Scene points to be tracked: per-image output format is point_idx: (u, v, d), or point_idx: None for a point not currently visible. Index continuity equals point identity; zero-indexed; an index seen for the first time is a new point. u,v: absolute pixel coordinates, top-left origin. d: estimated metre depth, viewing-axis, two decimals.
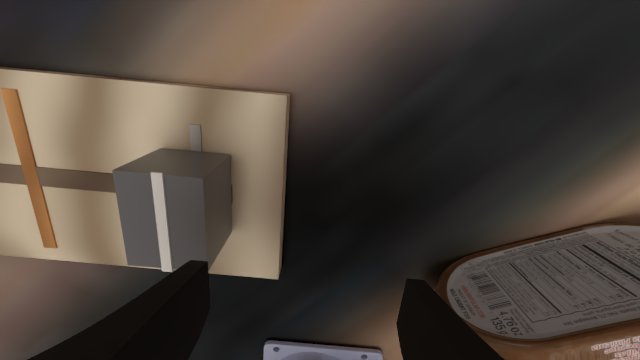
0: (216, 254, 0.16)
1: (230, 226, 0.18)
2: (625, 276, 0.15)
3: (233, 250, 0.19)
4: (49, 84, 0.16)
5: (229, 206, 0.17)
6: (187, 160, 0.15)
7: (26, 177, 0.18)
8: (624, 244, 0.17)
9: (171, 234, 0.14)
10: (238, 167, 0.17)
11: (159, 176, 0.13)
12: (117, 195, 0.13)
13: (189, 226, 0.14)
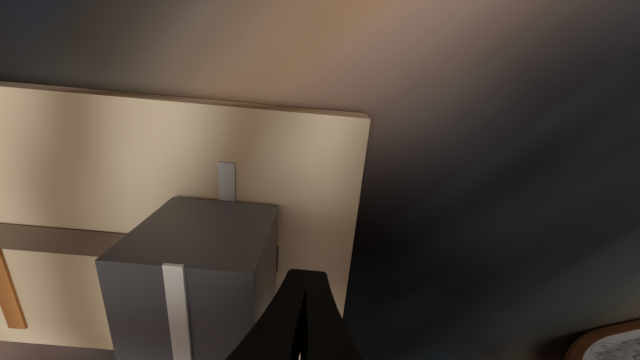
0: None
1: None
2: None
3: None
4: (3, 103, 0.10)
5: (274, 280, 0.12)
6: (217, 224, 0.10)
7: None
8: None
9: (195, 354, 0.08)
10: (288, 222, 0.12)
11: (178, 270, 0.07)
12: (104, 298, 0.08)
13: (226, 343, 0.08)
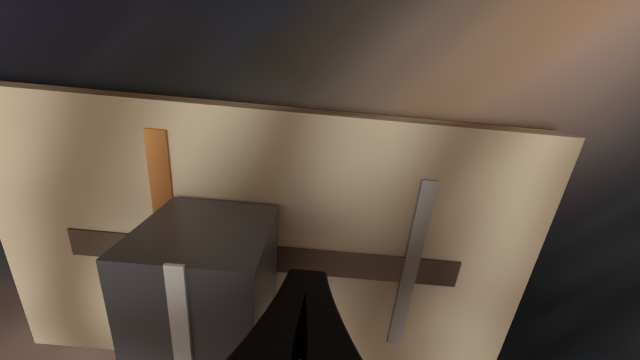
0: None
1: None
2: None
3: (435, 345, 0.14)
4: (218, 122, 0.10)
5: (274, 280, 0.12)
6: (218, 224, 0.10)
7: None
8: None
9: (196, 354, 0.08)
10: (476, 239, 0.12)
11: (179, 270, 0.07)
12: (105, 298, 0.08)
13: (226, 343, 0.08)
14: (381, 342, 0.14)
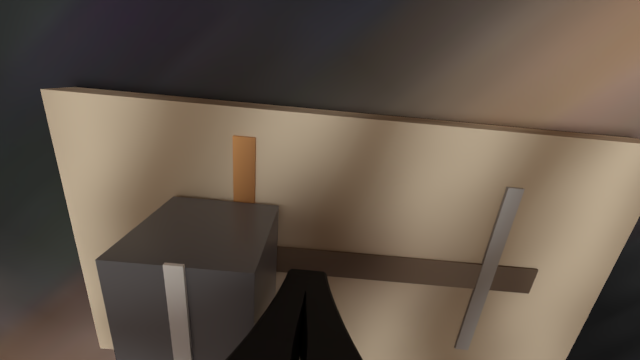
0: None
1: None
2: None
3: (503, 351, 0.14)
4: (308, 129, 0.10)
5: (274, 280, 0.12)
6: (218, 223, 0.10)
7: None
8: None
9: (195, 354, 0.08)
10: (555, 246, 0.12)
11: (178, 270, 0.07)
12: (105, 298, 0.08)
13: (226, 344, 0.08)
14: (448, 348, 0.14)
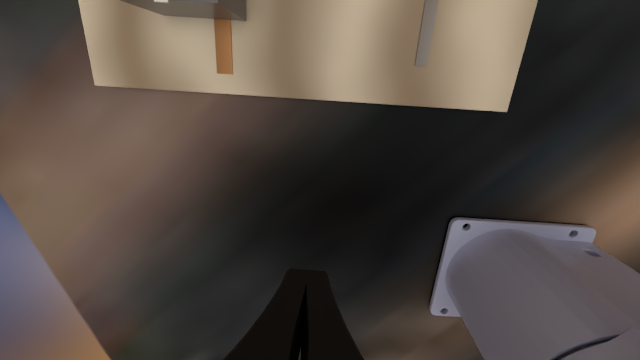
0: (228, 4, 0.12)
1: (244, 7, 0.14)
2: None
3: (459, 68, 0.15)
4: None
5: None
6: None
7: None
8: None
9: None
10: None
11: None
12: None
13: None
14: (409, 67, 0.15)
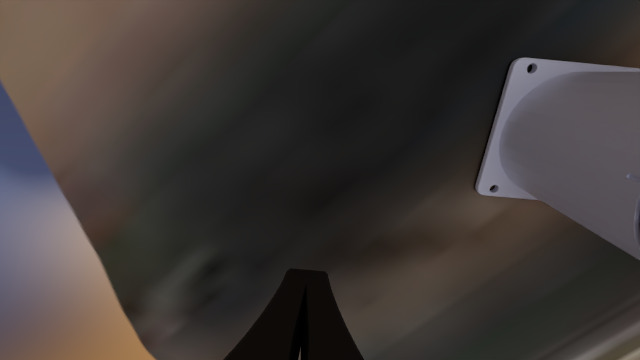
0: None
1: None
2: None
3: None
4: None
5: None
6: None
7: None
8: None
9: None
10: None
11: None
12: None
13: None
14: None
